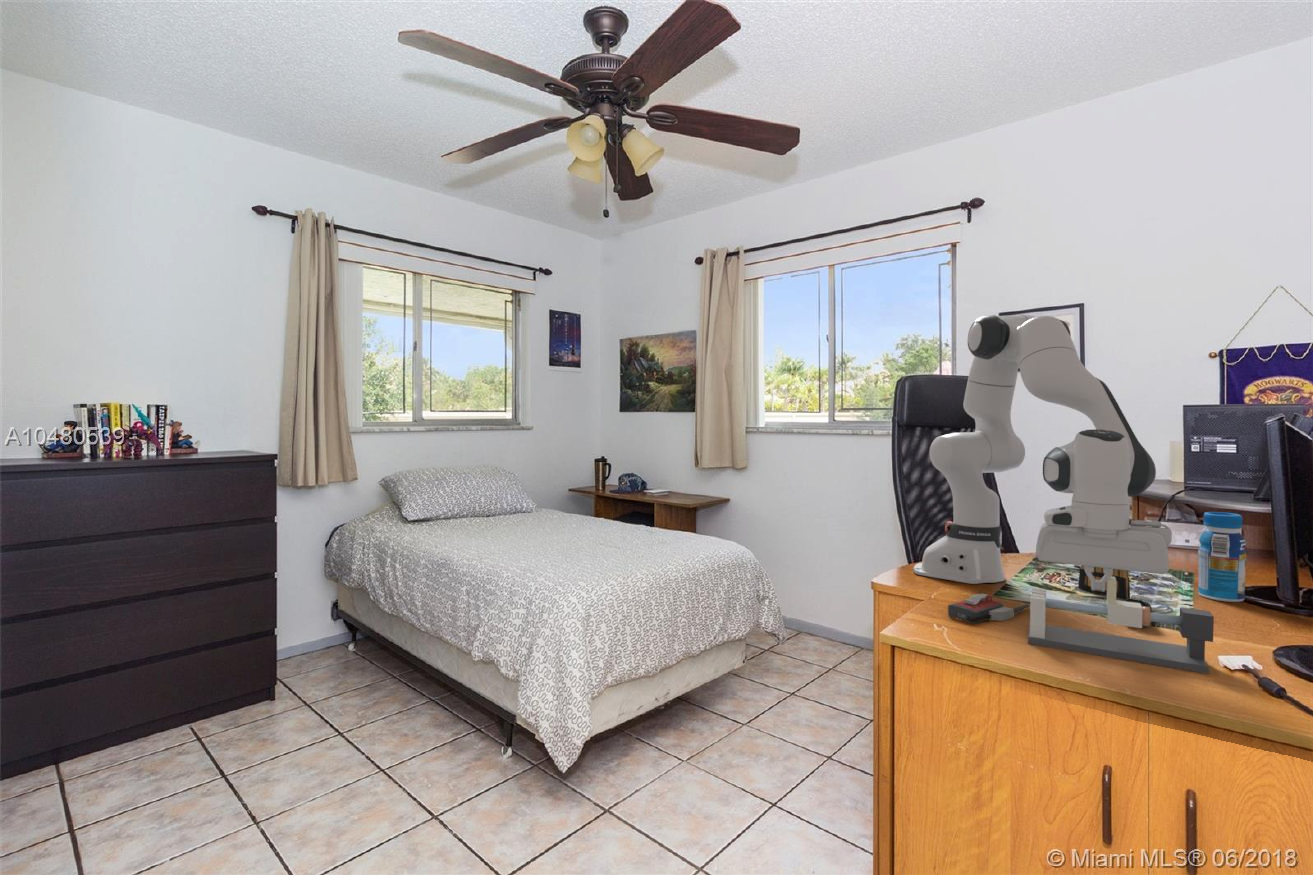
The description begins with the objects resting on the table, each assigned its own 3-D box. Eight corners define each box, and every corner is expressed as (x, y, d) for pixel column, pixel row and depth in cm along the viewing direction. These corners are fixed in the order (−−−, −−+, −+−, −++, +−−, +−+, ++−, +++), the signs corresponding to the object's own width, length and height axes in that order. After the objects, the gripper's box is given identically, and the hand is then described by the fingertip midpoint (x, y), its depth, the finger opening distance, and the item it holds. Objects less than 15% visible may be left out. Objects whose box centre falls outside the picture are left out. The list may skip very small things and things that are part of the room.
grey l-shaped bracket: (1107, 623, 113) (1108, 580, 113) (1106, 617, 116) (1107, 575, 116) (1142, 628, 110) (1142, 584, 110) (1139, 622, 113) (1140, 579, 113)
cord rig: (1027, 643, 117) (1028, 596, 117) (1030, 628, 126) (1030, 584, 125) (1216, 675, 103) (1217, 622, 102) (1204, 655, 111) (1205, 606, 111)
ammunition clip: (1078, 588, 154) (1078, 541, 154) (1082, 587, 155) (1083, 540, 155) (1125, 599, 145) (1126, 549, 144) (1130, 598, 145) (1131, 548, 145)
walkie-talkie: (981, 630, 126) (1033, 613, 136) (981, 608, 126) (1033, 593, 136) (942, 618, 134) (994, 603, 144) (942, 598, 133) (994, 584, 144)
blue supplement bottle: (1187, 592, 150) (1189, 511, 149) (1220, 592, 150) (1222, 510, 149) (1220, 603, 141) (1222, 517, 140) (1255, 602, 141) (1258, 516, 141)
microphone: (1137, 619, 140) (1121, 630, 126) (1128, 593, 142) (1112, 601, 128) (1167, 616, 137) (1154, 627, 123) (1157, 590, 138) (1144, 598, 124)
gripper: (1169, 519, 111) (1167, 594, 112) (1037, 510, 123) (1035, 578, 123) (1174, 525, 106) (1172, 604, 107) (1035, 514, 117) (1034, 586, 118)
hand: (1098, 590), depth 115 cm, fingers closed
